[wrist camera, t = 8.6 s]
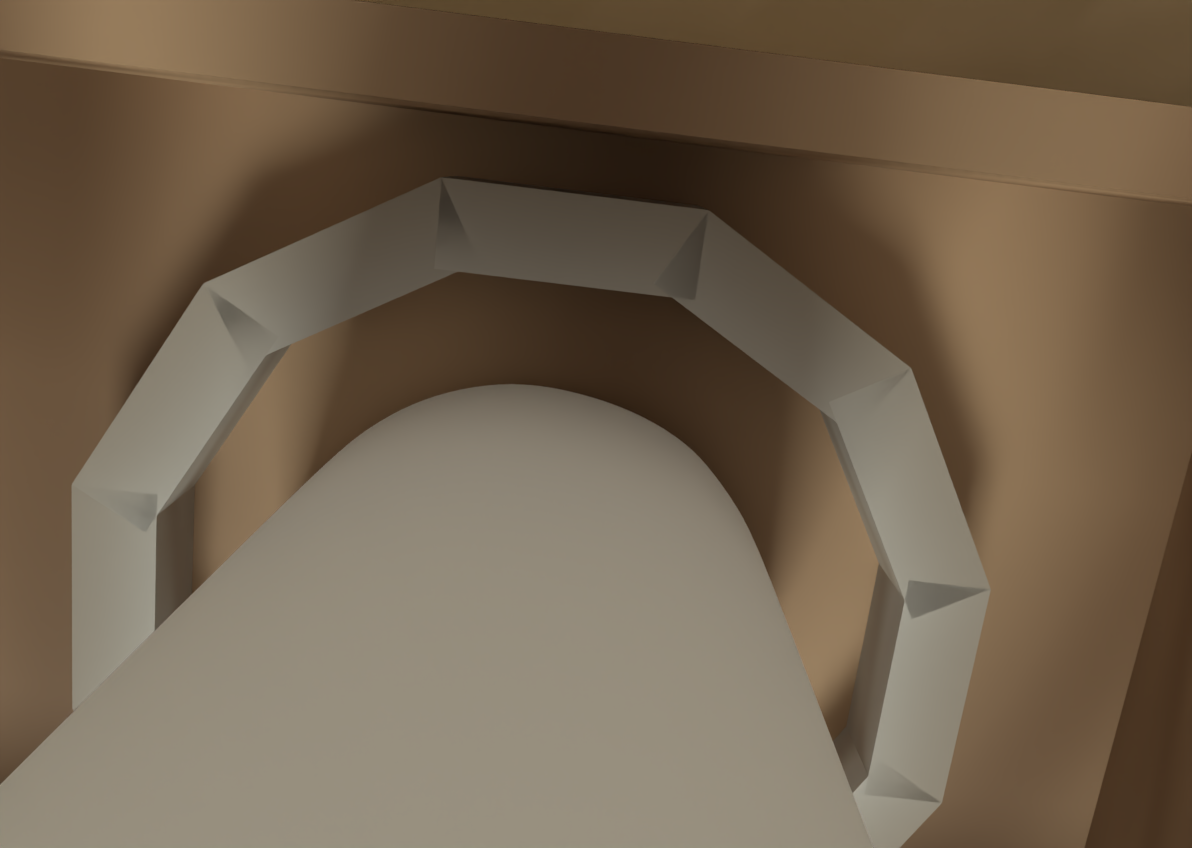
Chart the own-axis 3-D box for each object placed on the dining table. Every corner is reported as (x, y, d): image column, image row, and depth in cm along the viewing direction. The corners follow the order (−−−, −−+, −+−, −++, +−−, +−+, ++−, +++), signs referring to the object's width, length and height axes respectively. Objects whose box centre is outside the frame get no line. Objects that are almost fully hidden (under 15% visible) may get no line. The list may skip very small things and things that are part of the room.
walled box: (-99, 947, 16) (-288, 1160, 13) (-149, -29, 13) (-428, -100, 9) (1053, 1063, 16) (1171, 1299, 13) (1306, 155, 13) (1556, 153, 10)
